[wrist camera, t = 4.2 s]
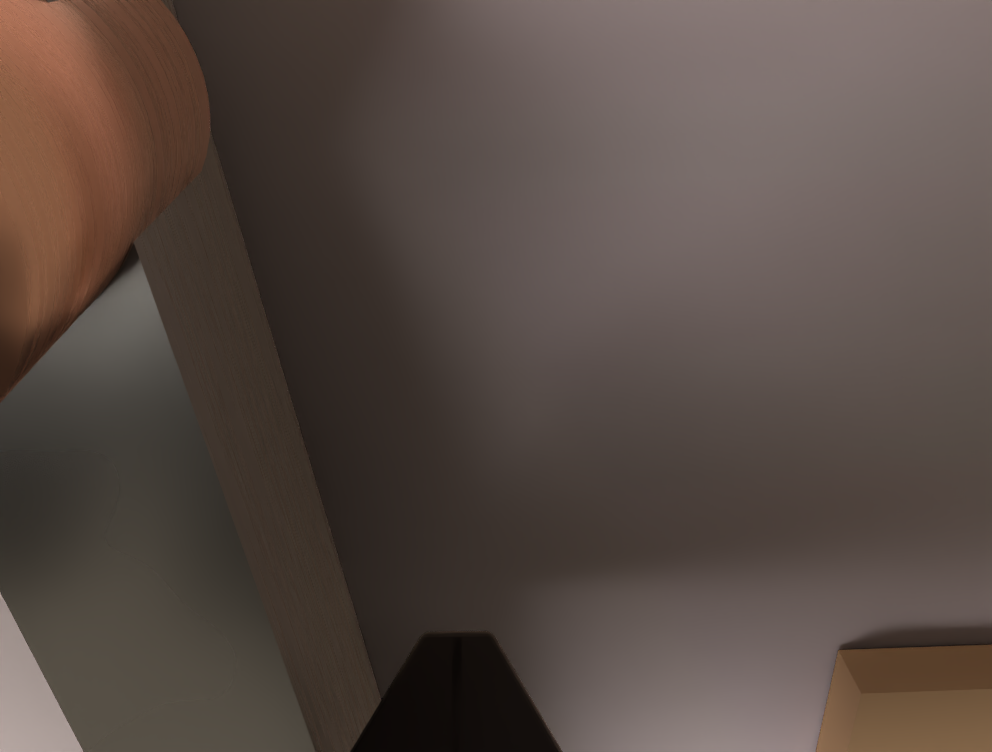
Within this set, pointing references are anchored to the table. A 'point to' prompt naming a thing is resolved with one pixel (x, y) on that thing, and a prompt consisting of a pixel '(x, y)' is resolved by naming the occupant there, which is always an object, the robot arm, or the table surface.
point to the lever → (152, 413)
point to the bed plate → (910, 700)
